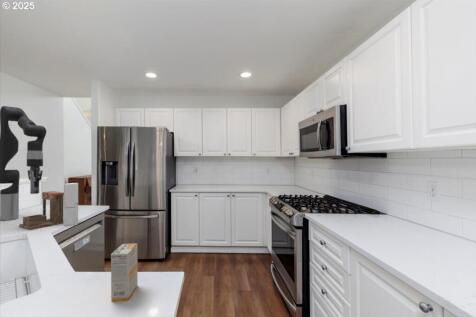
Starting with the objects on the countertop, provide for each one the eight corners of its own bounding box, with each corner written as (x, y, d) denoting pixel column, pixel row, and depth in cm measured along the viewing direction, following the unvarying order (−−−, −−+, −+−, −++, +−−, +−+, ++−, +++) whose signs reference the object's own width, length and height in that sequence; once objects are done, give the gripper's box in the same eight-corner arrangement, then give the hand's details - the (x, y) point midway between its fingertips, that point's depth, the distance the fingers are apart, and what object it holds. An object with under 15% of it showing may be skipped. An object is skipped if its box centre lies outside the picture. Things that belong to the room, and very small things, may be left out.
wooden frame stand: (18, 226, 143) (18, 194, 143) (53, 220, 158) (53, 191, 159) (29, 230, 136) (30, 196, 136) (64, 223, 151) (64, 192, 151)
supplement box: (121, 286, 74) (121, 243, 74) (138, 285, 74) (138, 242, 75) (109, 301, 66) (110, 253, 66) (128, 301, 66) (128, 253, 66)
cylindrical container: (80, 223, 151) (80, 183, 152) (71, 226, 144) (72, 184, 144) (70, 222, 152) (70, 183, 152) (60, 225, 145) (61, 184, 145)
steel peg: (29, 193, 143) (29, 173, 143) (37, 192, 147) (37, 173, 147) (32, 194, 141) (32, 173, 141) (40, 193, 145) (40, 173, 145)
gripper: (21, 158, 145) (21, 187, 144) (32, 158, 137) (32, 188, 137) (37, 158, 151) (37, 186, 151) (48, 158, 144) (48, 187, 144)
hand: (34, 187), depth 144 cm, fingers closed on steel peg, 4 cm apart
